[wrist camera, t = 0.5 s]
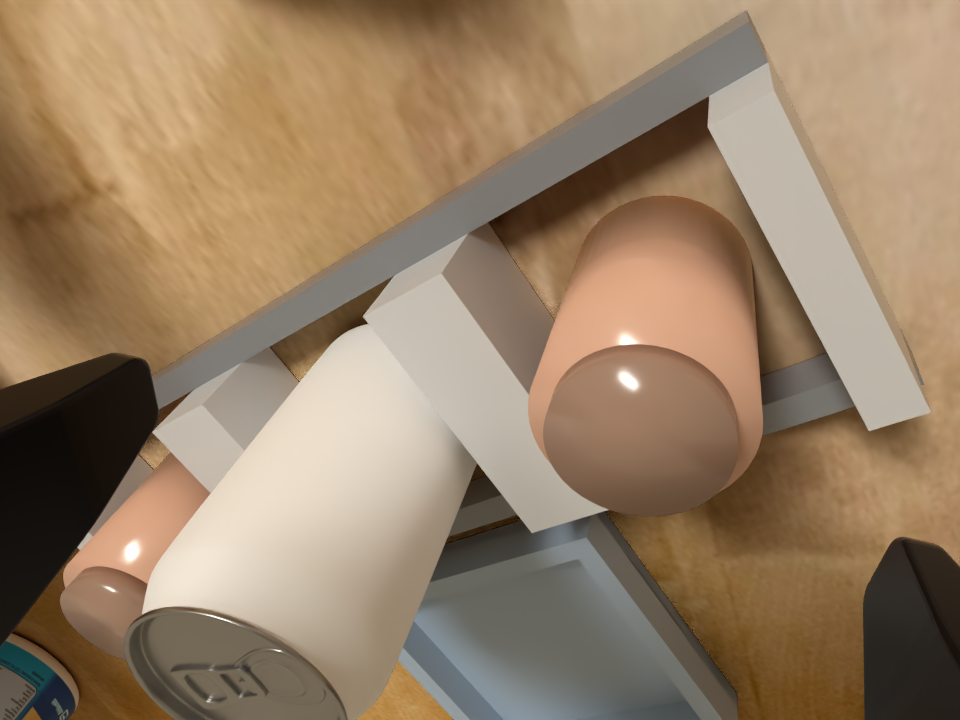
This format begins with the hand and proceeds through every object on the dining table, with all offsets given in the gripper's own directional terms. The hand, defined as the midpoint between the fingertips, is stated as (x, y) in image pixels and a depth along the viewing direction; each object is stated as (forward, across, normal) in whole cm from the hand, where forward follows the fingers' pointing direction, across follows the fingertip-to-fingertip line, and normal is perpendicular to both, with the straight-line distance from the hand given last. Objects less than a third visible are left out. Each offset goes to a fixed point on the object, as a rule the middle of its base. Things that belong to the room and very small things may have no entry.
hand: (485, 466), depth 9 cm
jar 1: (+14, +14, +17) cm, 26 cm away
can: (+14, +6, +10) cm, 18 cm away
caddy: (+14, +6, +10) cm, 18 cm away
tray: (+14, -1, +21) cm, 26 cm away
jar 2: (+14, -2, +4) cm, 15 cm away
